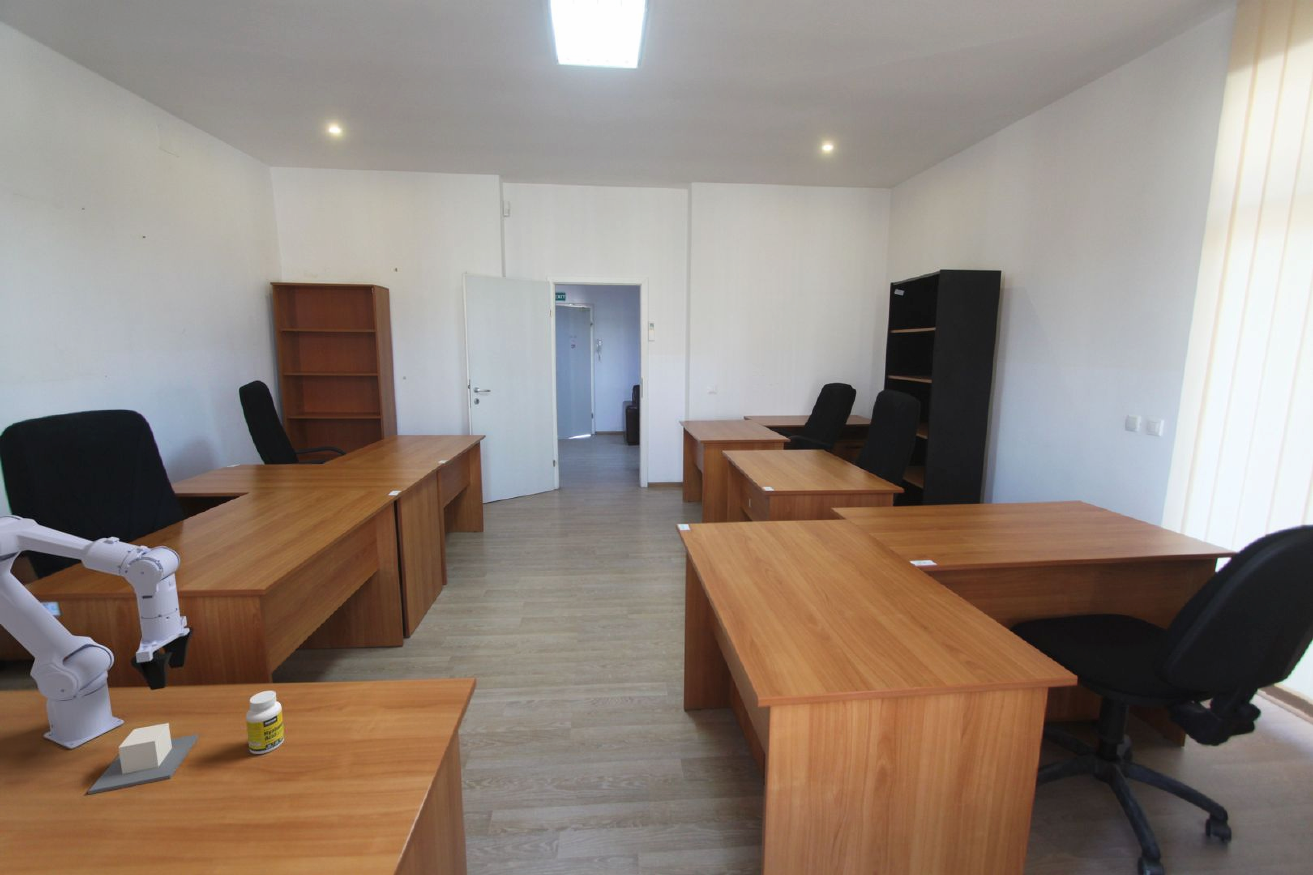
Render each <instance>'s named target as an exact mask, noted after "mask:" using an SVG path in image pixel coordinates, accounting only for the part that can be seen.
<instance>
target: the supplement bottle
mask: <svg viewBox="0 0 1313 875" xmlns="http://www.w3.org/2000/svg"><path fill="white" fill-rule="evenodd" d="M249 707H250V709H248V711H247V712H246V714H245V715H246V716H245V721H246V730H247V731H246V732H247V739H248V750H249V752H250V753H251V754H254V755H261V754H266V753H269V752H272V751H274V750H276V749H277V748H279V747H280V746H281V745H282V744H283V742H284V740H285V732H284V731H285V730H284V729H285V728H284V719H283V708H282V705H281V703H280V702H279V701H277V693H276V691H275V690H266V691H265V690H264V691H261V692H258V693H256V694H254V695H253V696H251V697H250V699H249Z"/></svg>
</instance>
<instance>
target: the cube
mask: <svg viewBox="0 0 1313 875" xmlns="http://www.w3.org/2000/svg"><path fill="white" fill-rule="evenodd" d="M171 739H172V738H171V732H170V723H169V722H167V723H160V724H155V725H150V726H145V727H139V728H134V729H133V730H132V731H131V733H129V735H128V736H127V737H125V739H124V740H123V742H122V743H121V744H120V745H119V746H118V747H117V748H118V753H119V754H118V756H119V755H120V761H121V768H122V774H124V773H129V772H134V771H139V770H145V769H150V768H155V767H159V765H160V764H161V763H162V761H163V760H164V758H165V757H166V756H167V754H168V753H169V751H170V750H171V749H172V744H171Z"/></svg>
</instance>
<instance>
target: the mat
mask: <svg viewBox="0 0 1313 875" xmlns="http://www.w3.org/2000/svg"><path fill="white" fill-rule="evenodd" d="M199 737H200V736H199V734H191V735H186V736H179V737H175V738H171V744H172V749H171V750H170V751H169V753H168V754H167V756H166V757H165V758H164V760H163V761H162V763H161V764H160V765H159V767H155V768H150V769H145V770H139V771H134V772H129V773H124V774H122V768H121V761H120V755H119V754H118V756H116V758H115V759H114V760H113V761H112V762H111V764H110V765H109V766H108V767H107V769H105V771H104V772H103V773H102V775H101V776H100V777H98V779H97V780H96V781H95V783H93V785H92V786H91V787H90V789H89V790H88V791H87V793H88V795H93V794H98V793H103V792H108V791H113V790H118V789H123V788H128V787H132V786H133V787H134V786H140V785H144V784H148V783H149V784H150V783H154V782H159V781H163V780H169V779H171V778H172V777H173V775H174V774H175V772H176V770H177V769H178V768H179V766H180V765H181V763H182V762H183V761H184V759H185V758H186V756H187V755H188V753H189V752H190V750H191V749H192V748H193V746H194V744H195V743H196V742H197V740H198V738H199Z"/></svg>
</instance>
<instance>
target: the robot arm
mask: <svg viewBox="0 0 1313 875" xmlns="http://www.w3.org/2000/svg"><path fill="white" fill-rule="evenodd" d="M23 551H34V552H38V553H44V554H49V555H54V556H60V557H66V558H72V559H77V560H80V561H81V562H82V565H83V566H84V568H86V569H90V570H95V571H98V572H102V573H106V574H111V575H115V576H119V577H123V578H124V579H125V580H126V582H127V583H129V584H130V585H131V586H132V588H133V590H134V594H136V595H135V596H136V602H137V610H138V617H139V623H140V630H141V636H142V637H141V638H140V642H139V647H138V650H137V651H136V652H135V656H133V658H130V662H129V663H130V666H131V667H132V668H134V669H136V670H137V671H138V672H139V673H140V674H141V676H142V677H143V678H144V680H145V682H146V683H147V685H148V687H149V689H150V690H151V691H154V690H162V689H165V688H166V686H167V682H168V666H169V668H170V669H177V668H183V667H184V666H185V664H186V660H187V652H188V648H189V644H190V641H191V638H192V635H193V634H194V632H195V628H194V627H192V626H191V627H190V626H189V627H187V625H188V623H187V622H188V621H187V616H186V615H184V616H181V615H180V614H181V613H180V604H179V597H178V591H177V582H176V575H175V574H176V573H175V572H176V571H177V570H178V569H179V567H180V564H181V558H180V555H178V553H177V552H176V551H175V550H174V549H172V548H169V547H167V546H163V545H161V546H156V547H152V548H148V546H146V545H140V546H139V545H135V544H131V543H127V542H123V541H120V538H119V537H115V536H111V537H108V538H106V537H103V538H99V539H97V540H94V541H92V540H89V539H86V538H83V537H80V536H76V535H73V534H69V533H66V532H62V531H59V530H56V529H53V528H50V527H47V526H43V525H40V524H38V523H37V522H36V520H35V519H32V518H27V517H26V518H23V517H21V516H18V515H13V514H8V515H2V516H0V625H1V626H2V627H3V628H4V630H6V631H7V632H8V633H9V634H10V635H12V637H13V638H14V639H15V640H16V641H17V642H19V643H20V645H22V647H24V648H25V649H26V651H28V652H29V653H30V655H32V656H33V657H34V662H33V664H32V667H31V670H30V676H31V677H32V678H33V679H34V681H35V682H36V684H37V689H38V690H39V693H40V694H41V695H43V696H44V697H45V698H47V699H46V703H45V706H46V714H47V718H48V724H49V730H50V731H47V732H46V733H44V734H43V737H44V738H45V739H48V740H50V741H51V742H55V743H57V744H59V745H62V746H63V747H65V748H67V749H70V750H72V749H75V748H77V747H79V746H81V745H83V744H85V743H86V742H89V741H91V740H93V739H95V738H97V737H99V736H101V735H103V734H105V733H107V732H109V731H112V730H114V729H116V728H117V727H119V726H122V725H123V724H124V723H125V721H124V720H123V719H121V718H118V717H115V716H114V715H113V712H112V707H111V700H110V694H109V687H108V681H107V678H108V676H109V674H108V671H109V670H110V669H111V667H112V666H113V664H114V663H115V662H114V661H115V657H114V654H113V652H112V651H111V650H110V648H108V647H106V646H105V645H101V644H99V643H97V642H95V641H94V640H93V639H92V637H89V636H80V635H78V636H77V635H73V634H72V633H71V632H70V631H69V630H68V629H67V628H66V627H64V625H63V624H62V623H61V622H60V621H59V620H58V619H57V618H56V617H55V616H54V615H53V614H52V613H51V612H50V611H49V610H48V609H47V608H46V607H45V606H44V605H43V604H42V603H41V602H40V601H39V600H38V599H37V598H36V596H34V595H33V594H32V593H31V592H30V591H29V590H28V589H27V588H26V587H25V586H24V585H23V584H22V583H21V582H20V581H19V580H18V579H17V578H16V577H15V576H14V575H13V574H12V572H11V569H12V567H13V563H14V561H15V559H16V558H17V557H18V556H19V555H20V553H21V552H23ZM161 648H162V649H163V650H164V653H162V651H161V652H160V649H161ZM65 658H66V659H65Z"/></svg>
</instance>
